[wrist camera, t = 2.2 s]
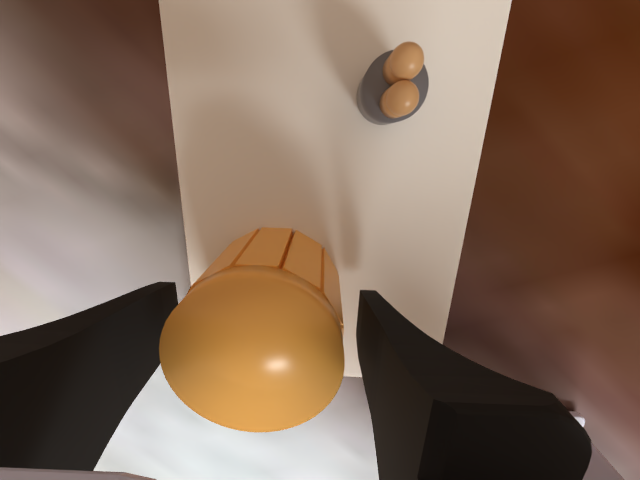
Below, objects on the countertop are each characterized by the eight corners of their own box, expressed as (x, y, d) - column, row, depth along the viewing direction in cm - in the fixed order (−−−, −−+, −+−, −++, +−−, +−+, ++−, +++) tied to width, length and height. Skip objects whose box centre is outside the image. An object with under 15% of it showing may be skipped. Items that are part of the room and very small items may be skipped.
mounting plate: (499, -45, 11) (637, -191, 6) (425, 359, 17) (466, 447, 12) (172, -57, 11) (53, -210, 6) (211, 350, 17) (165, 434, 12)
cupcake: (341, 230, 13) (351, 283, 8) (334, 338, 14) (339, 435, 10) (213, 225, 13) (145, 275, 8) (221, 333, 14) (171, 428, 10)
